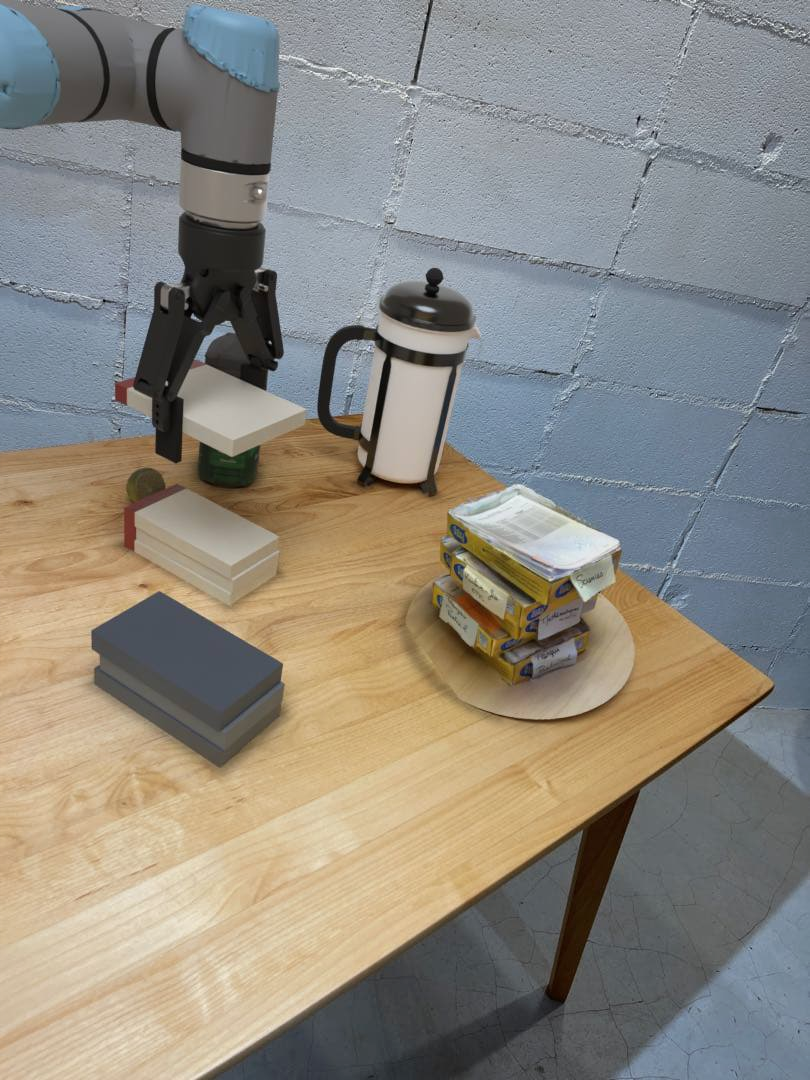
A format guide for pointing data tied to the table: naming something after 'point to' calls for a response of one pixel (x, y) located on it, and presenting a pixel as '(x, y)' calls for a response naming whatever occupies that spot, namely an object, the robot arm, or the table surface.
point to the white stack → (201, 542)
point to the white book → (223, 409)
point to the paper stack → (524, 609)
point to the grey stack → (188, 676)
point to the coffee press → (406, 380)
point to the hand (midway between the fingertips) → (210, 440)
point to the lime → (144, 484)
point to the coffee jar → (211, 461)
